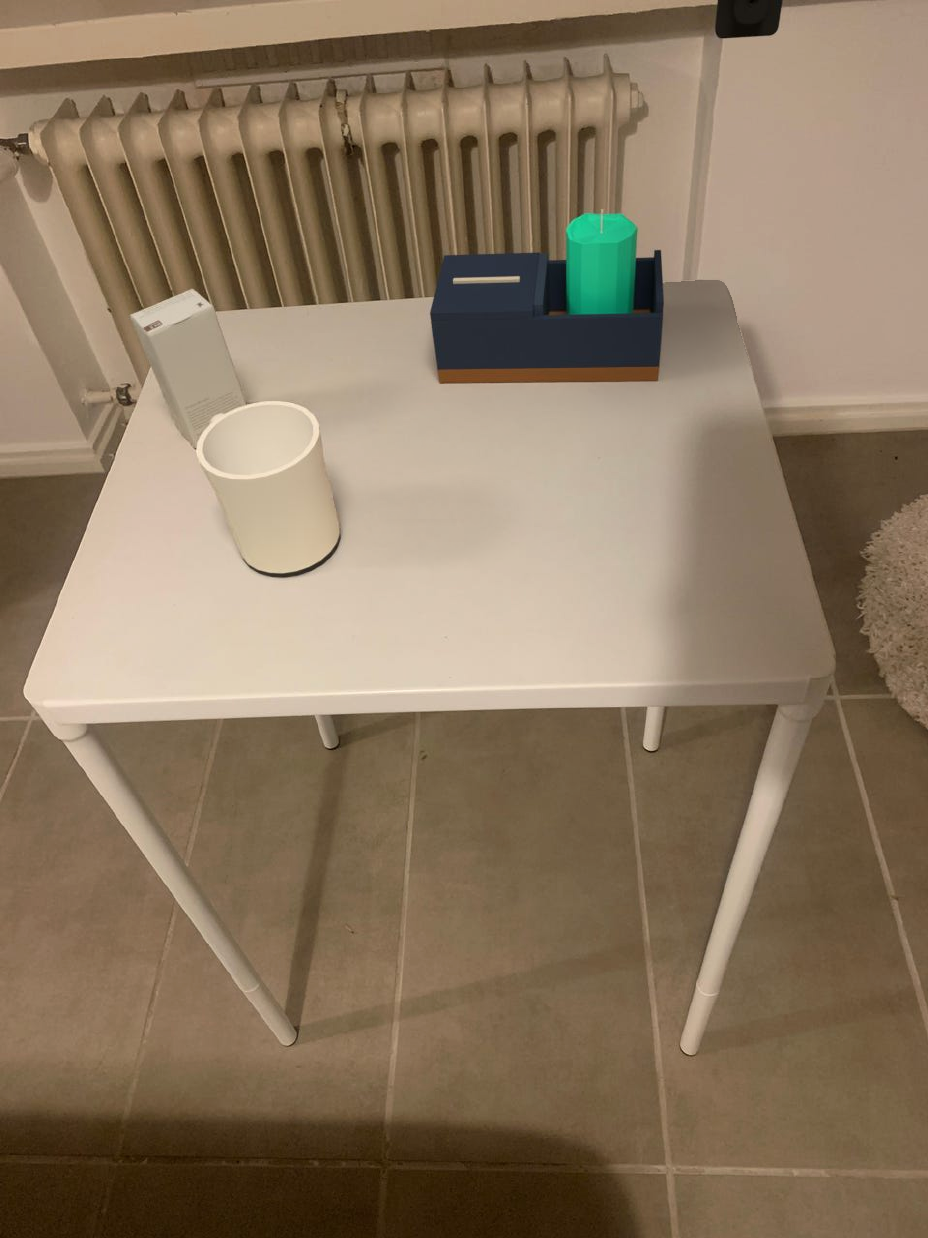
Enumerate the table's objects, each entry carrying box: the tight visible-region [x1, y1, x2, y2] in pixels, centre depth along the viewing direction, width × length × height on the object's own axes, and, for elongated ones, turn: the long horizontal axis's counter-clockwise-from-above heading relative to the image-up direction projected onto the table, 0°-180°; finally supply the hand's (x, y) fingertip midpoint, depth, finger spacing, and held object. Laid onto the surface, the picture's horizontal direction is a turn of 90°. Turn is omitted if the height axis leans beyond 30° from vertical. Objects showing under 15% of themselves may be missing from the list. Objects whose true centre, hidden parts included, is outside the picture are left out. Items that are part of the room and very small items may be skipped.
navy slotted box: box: [429, 249, 665, 384], centre depth 85 cm, size 20×10×8 cm, turn 84°
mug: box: [195, 400, 341, 578], centre depth 70 cm, size 11×9×10 cm
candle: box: [565, 209, 639, 315], centre depth 82 cm, size 6×6×12 cm
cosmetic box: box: [129, 288, 248, 449], centre depth 80 cm, size 6×4×12 cm
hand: (738, 4), depth 52 cm, fingers open, 9 cm apart
